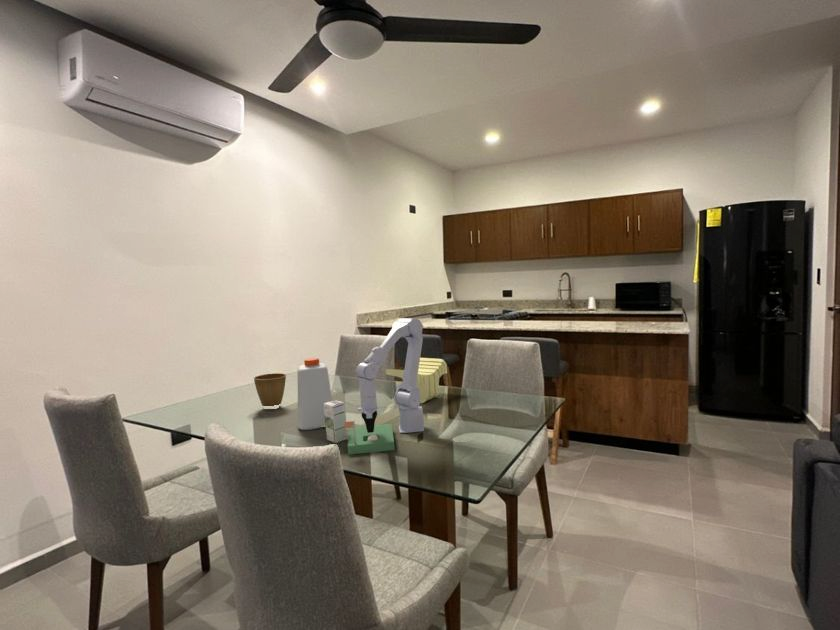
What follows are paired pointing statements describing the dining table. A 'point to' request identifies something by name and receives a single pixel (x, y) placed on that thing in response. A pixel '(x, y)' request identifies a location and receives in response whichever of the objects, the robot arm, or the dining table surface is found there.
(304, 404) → the plastic bottle
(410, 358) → the robot arm
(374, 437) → the ball
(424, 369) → the slatted curved stool
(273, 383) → the plant pot
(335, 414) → the syrup box
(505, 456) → the dining table surface
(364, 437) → the green slotted block
